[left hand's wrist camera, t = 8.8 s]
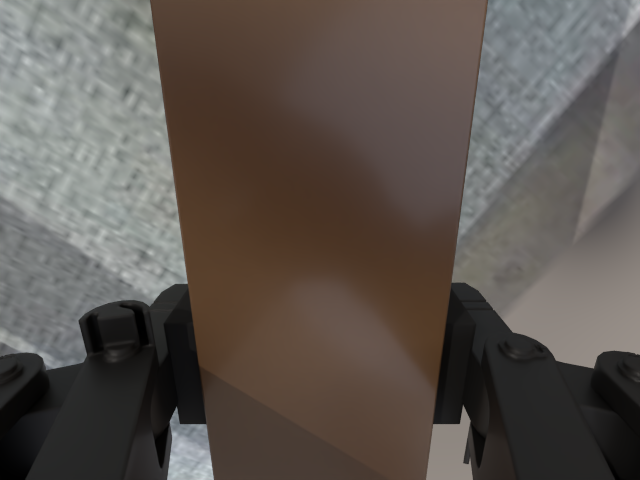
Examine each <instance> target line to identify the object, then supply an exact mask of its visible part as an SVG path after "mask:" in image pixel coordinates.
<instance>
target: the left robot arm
mask: <svg viewBox="0 0 640 480" xmlns="http://www.w3.org/2000/svg"><path fill="white" fill-rule="evenodd" d="M79 325H80V329H81V333H82V336H83V340H84V344H85V348H86V352H87V357H86V359H85V361H84V363H80V364H76V365H71V366H66V367H61V368H56V369H51V370H46V368H45V365H44V361H43V358H42V357H40V356H39V355H38V354H34V353H18V354H9V355H5V356H4V357H3V356H2V357H0V480H167V476H168V468H169V460H170V452H171V444H172V433H171V427H170V419H171V417H172V415H173V413H174V411H175V409H176V407H177V409H178V415H179V421H180V424H207V423H206V416H205V408H204V401H203V393H202V386H201V378H200V371H199V363H198V356H197V348H196V341H195V333H194V326H193V318H192V311H191V303H190V296H189V288H188V284H174V285H173V286H171V287H169V288H168V289H166V290H164V291H163V292H161V294H160V295H159V296H158V297H157V298H156V300H155V301H154V304H152V305H151V306H150V307H149V306H148V305H147V304H145V303H144V302H140V301H135V300H126V301H117V302H112V303H108V304H105V305H102V306H99V307H97V308H95V309H93V310H91V311H89V312H88V313H86V314H85V315H84V316H83V317H82V318H81V319H80V320H79ZM463 405H464V407H465V409H466V412H467V414H468V416H469V418H470V420H471V422H470V427H469V433H468V438H467V444H466V450H465V455H464V462H463V463H465V464H469V459H471V467H472V475H473V480H640V355H638V354H637V355H636V354H635V353H630V352H621V351H608V352H603V353H602V354H600V355H599V356H598V357H597V360H596V363H595V367H594V369H593V368H588V367H583V366H577V365H572V364H567V363H563V362H559V361H556V360H555V358H554V356H553V354H552V353H551V352H550V351H549V349H548V348H547V347H546V346H544V345H543V344H541V343H540V342H538V341H537V340H534V339H532V338H530V337H527V336H525V335H521V334H517V333H513V332H512V331H511V330H510V329H509V327H508V326H507V325H506V324H505V323H504V321H503V320H502V319H501V318H500V317H499V315H498V314H497V313H496V312H495V310H493V308H492V307H491V306H490V304H489V303H488V302H486V300H485V298H484V297H483V296H482V295H481V294H480V292H479V291H478V290H476V289H474V288H473V287H471V286H469V285H468V284H466V283H451V290H450V297H449V305H448V313H447V320H446V328H445V336H444V344H443V351H442V359H441V367H440V374H439V382H438V390H437V398H436V405H435V413H434V421H433V424H460V420H461V413H462V407H463Z"/></svg>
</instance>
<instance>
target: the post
mask: <svg viewBox="0 0 640 480" xmlns="http://www.w3.org/2000/svg"><path fill="white" fill-rule="evenodd" d="M150 3H151V11H152V18H153V26H154V33H155V41H156V48H157V56H158V63H159V71H160V78H161V86H162V93H163V101H164V108H165V116H166V123H167V131H168V138H169V146H170V153H171V161H172V168H173V176H174V183H175V191H176V198H177V206H178V213H179V221H180V228H181V236H182V243H183V251H184V258H185V266H186V273H187V281H188V288H189V296H190V303H191V311H192V318H193V326H194V333H195V341H196V348H197V356H198V363H199V371H200V378H201V386H202V393H203V401H204V408H205V416H206V423H207V431H208V438H209V446H210V453H211V461H212V468H213V476H214V480H426V474H427V467H428V459H429V451H430V444H431V436H432V428H433V421H434V413H435V405H436V398H437V390H438V382H439V374H440V367H441V359H442V351H443V344H444V336H445V328H446V320H447V313H448V305H449V297H450V290H451V282H452V274H453V266H454V259H455V251H456V243H457V236H458V228H459V220H460V212H461V205H462V197H463V189H464V182H465V174H466V166H467V159H468V151H469V143H470V135H471V128H472V120H473V112H474V105H475V97H476V89H477V81H478V74H479V66H480V58H481V51H482V43H483V35H484V27H485V20H486V12H487V4H488V0H150Z"/></svg>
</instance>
